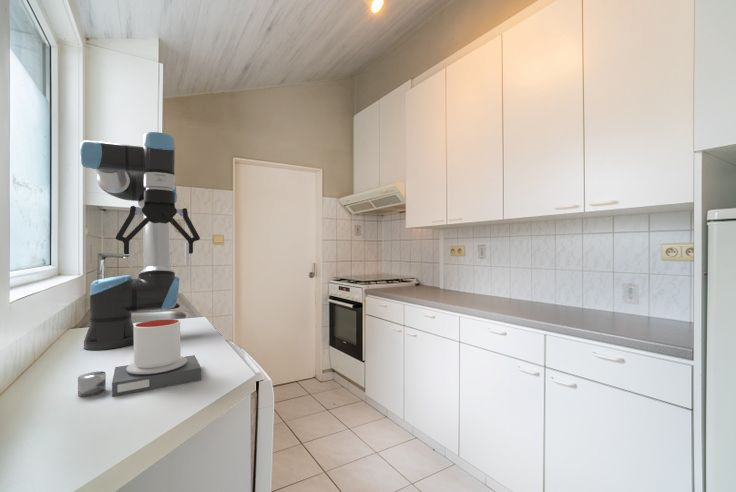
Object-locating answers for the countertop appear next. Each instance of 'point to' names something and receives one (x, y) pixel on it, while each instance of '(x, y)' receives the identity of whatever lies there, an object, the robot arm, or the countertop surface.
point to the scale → (155, 376)
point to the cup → (156, 343)
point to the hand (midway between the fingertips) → (159, 266)
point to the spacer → (91, 384)
